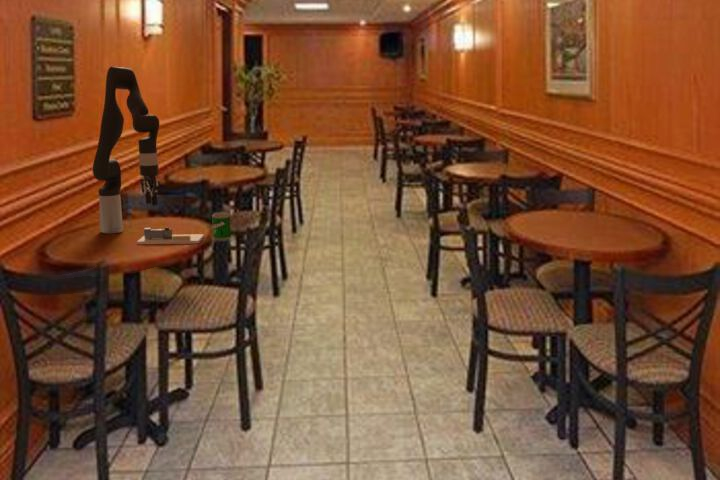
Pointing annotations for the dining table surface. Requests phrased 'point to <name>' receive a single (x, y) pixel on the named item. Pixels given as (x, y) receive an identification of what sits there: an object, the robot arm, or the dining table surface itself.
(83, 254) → the dining table surface
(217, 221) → the soda can
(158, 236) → the latch bar
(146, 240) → the lock board
